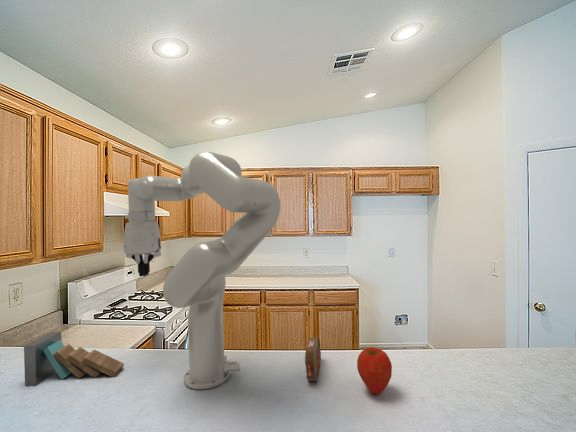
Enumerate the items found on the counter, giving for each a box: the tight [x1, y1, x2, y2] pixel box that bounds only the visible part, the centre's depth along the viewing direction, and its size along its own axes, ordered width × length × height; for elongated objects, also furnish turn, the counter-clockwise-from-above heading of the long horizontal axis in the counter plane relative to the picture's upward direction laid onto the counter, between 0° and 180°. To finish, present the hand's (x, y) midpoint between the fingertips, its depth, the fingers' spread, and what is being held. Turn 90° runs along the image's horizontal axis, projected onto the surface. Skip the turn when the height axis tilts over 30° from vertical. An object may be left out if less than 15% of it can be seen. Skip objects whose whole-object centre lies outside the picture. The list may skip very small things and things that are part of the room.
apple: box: [356, 347, 393, 395], centre depth 75 cm, size 9×8×11 cm
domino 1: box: [43, 339, 73, 380], centre depth 88 cm, size 2×5×10 cm
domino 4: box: [81, 349, 125, 378], centre depth 88 cm, size 2×5×10 cm
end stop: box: [23, 331, 63, 387], centre depth 88 cm, size 3×10×11 cm, turn 2°
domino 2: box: [53, 343, 88, 380], centre depth 88 cm, size 2×5×10 cm
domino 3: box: [66, 346, 103, 379], centre depth 88 cm, size 2×5×10 cm
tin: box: [304, 336, 322, 382], centre depth 85 cm, size 15×3×8 cm, turn 168°
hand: (144, 275), depth 96 cm, fingers closed
